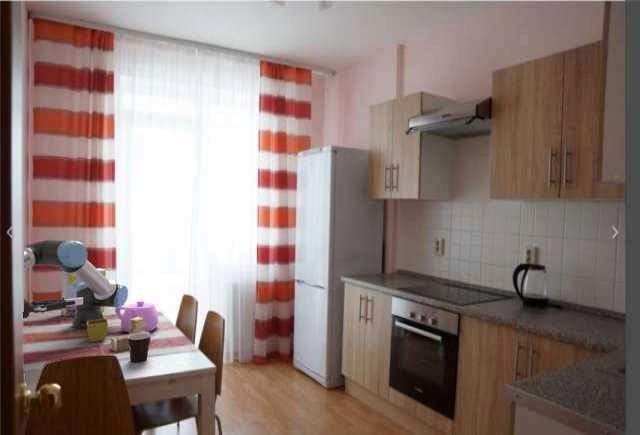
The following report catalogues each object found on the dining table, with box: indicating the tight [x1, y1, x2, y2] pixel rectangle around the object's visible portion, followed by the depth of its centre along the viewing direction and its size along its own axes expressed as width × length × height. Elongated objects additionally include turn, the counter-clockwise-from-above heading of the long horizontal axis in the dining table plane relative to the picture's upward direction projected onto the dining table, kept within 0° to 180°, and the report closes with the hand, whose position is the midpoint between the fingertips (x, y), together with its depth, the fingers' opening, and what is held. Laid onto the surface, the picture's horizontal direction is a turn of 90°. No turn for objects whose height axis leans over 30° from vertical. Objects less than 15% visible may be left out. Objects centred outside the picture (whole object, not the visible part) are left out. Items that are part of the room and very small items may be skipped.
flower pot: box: [86, 318, 109, 343], centre depth 202 cm, size 9×9×9 cm
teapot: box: [114, 300, 159, 334], centre depth 217 cm, size 23×21×15 cm
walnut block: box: [110, 331, 152, 352], centre depth 195 cm, size 5×5×16 cm
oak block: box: [128, 317, 145, 334], centre depth 205 cm, size 5×5×10 cm
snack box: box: [60, 268, 107, 318], centre depth 251 cm, size 22×9×26 cm, turn 141°
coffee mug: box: [128, 333, 151, 364], centre depth 176 cm, size 12×9×10 cm
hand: (82, 300), depth 179 cm, fingers closed
